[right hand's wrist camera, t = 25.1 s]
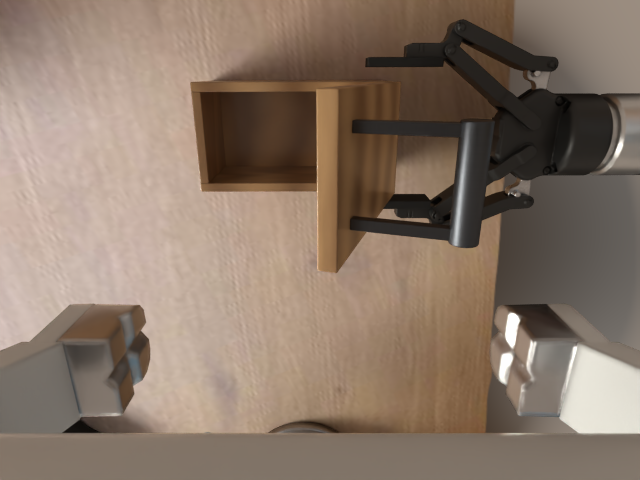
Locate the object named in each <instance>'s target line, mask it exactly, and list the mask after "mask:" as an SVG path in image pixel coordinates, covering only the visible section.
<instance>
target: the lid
mask: <svg viewBox="0 0 640 480" xmlns="http://www.w3.org/2000/svg"><path fill="white" fill-rule="evenodd" d="M400 91H401V82H378V83H367V84H357V85H346V86H335V87H325V88H317V89H316V108H317V268H318V271H325V272H332V273H337V272H338V271H339V269H340V268H341V267H342V265H343V264H344V262H345V261H346V260H347V258H348V257H349V255H350V254H351V253H352V251H353V250H354V249H355V247H356V246H357V244H358V243H359V242H360V240H361V239H362V237H363V236H364V235H365V233H366V232H373V233H382V234H391V235H401V236H410V237H419V238H428V239H438V240H447V241H448V242H449V243H450V244H451V245H453V246H456V247H461V248H473V247H476V246H478V244H479V237H480V230H481V222H482V215H483V207H484V200H485V192H486V185H487V177H488V170H489V162H490V155H491V147H492V140H493V132H494V125H495V121H494V120H490V119H462V120H461V122H439V121H404V120H399V108H400ZM398 135H408V136H434V137H459V142H458V152H457V161H456V171H455V180H454V189H453V199H452V208H451V218H450V225H441V224H431V223H421V222H411V221H400V220H390V219H380V218H377V217H378V215H379V214H380V212H381V211H382V210H383V208H384V207H385V206H386V204H387V203H388V201H389V200H390V199H391V197H392V196H393V194H394V193H395V177H396V160H397V142H398Z"/></svg>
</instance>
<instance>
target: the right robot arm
mask: <svg viewBox="0 0 640 480" xmlns="http://www.w3.org/2000/svg"><path fill="white" fill-rule="evenodd" d="M145 323H146V319H145V314H144V310H143V308H142V307H141V306H140V305H114V304H73V305H69V306H68V307H67V308H66V309H65V310H64V311H63V312H62V313H60V314H59V315H58V316H57V317H56V318H55V319H54V320H53V321H52V322H51V323H50V324H48V325H47V326H46V327H45V328H44V329H43V330H42V331H41V332H40V333H39V334H37V335H36V336H35V337H34V338H33V339H32V340H31V341H30V342H21V343H18V344H16V345H13V346H11V347H8V348H6V349H4V350H1V351H0V480H640V351H639V350H636V349H634V348H631V347H629V346H627V345H624V344H622V343H619V342H610V341H609V340H608V339H607V338H606V337H605V336H604V335H603V334H601V333H600V332H599V331H598V330H597V329H596V328H595V327H594V326H593V325H592V324H591V323H589V322H588V321H587V320H586V319H585V318H584V317H583V316H582V315H581V314H580V313H579V312H577V311H576V310H575V309H574V308H573V307H572V306H571V305H568V304H530V305H502V306H499V307H498V308H497V311H496V313H495V319H494V323H495V325H496V326H497V328H498V329H499V332H498V333H497V334H496V335H495V336H494V337H493V338H492V339H491V345H490V362H491V366H492V370H493V373H494V374H495V376H496V378H497V380H498V381H500V382H501V383H503V384H505V385H506V386H507V389H506V395H507V397H508V399H509V401H510V402H511V404H512V406H513V407H514V409H515V411H516V412H517V414H518V416H542V417H560V420H562V421H563V422H564V423H566V424H567V425H569V426H570V427H571V428H572V429H574V430H575V431H576V432H578V433H62V432H64V431H65V430H66V429H68V428H69V427H70V426H72V425H73V424H74V423H76V422H77V421H78V420H80V417H98V416H122V414H123V412H124V411H125V409H126V407H127V406H128V404H129V402H130V401H131V399H132V397H133V395H134V389H133V386H134V385H135V384H137V383H139V382H140V381H142V380H143V378H144V376H145V374H146V372H147V370H148V366H149V361H150V344H149V339H148V338H147V337H146V336H145V335H144V334H143V333H142V332H141V329H142V328H143V326H144V325H145Z"/></svg>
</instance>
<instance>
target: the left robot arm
mask: <svg viewBox="0 0 640 480" xmlns="http://www.w3.org/2000/svg"><path fill="white" fill-rule="evenodd" d="M461 42H462V43H464V44H466V45H468V46H470V47H472V48H474V49H476V50H478V51H480V52H482V53H484V54H486V55H488V56H490V57H492V58H494V59H496V60H498V61H500V62H502V63H504V64H506V65H507V66H509V67H512V68H514V69H517V70H522V71H523V77H524V79H526V80H528V81H530V82H531V85H532V88H531V89H529V90H527V91H526V92H525V93H523V94H522V95H520V96H519V97H516V96H515V95H514V94H512V93H511V92H509V91H508V90H506V89H505V88H504V87H503V86H502V85H501V84H500V83H499V82H498V81H496V80H495V79H494V78H493V77H492V76H491V75H490V74H489V73H488V72H487V71H486V70H484V69H483V68H482V67H481V66H480V65H479V64H478V63H477V62H476V61H475V60H474V59H472V58H471V57H470V56H469V55H468V54H467V53H466V52H465V51H464V50H463V49H462V48H460V44H461ZM444 61H445V62H446V63H447V64H448V65H449V66H451V67H452V68H453V69H454V70H455V71H456V72H457V73H458V74H459V75H461V76H462V77H463V78H464V79H465V80H466V81H467V82H468V83H469V84H471V85H472V86H473V87H474V88H475V89H476V90H477V91H478V92H479V93H481V94H482V95H483V96H484V97H485V98H486V99H487V100H488V102H489V103H490V104H491V105H492V106H494V107H495V108H496V109H497V110H498V112H497V113H496V115H495V117H494V118H492V120H494V121H495V125H494V132H493V140H492V147H491V156H490V162H489V170H488V177H487V185H489V184H490V183H492V182H493V181H496V180H499V179H501V178H503V177H504V176H506V175H507V174H509V173H511V174H513V175H514V176H515V177H517V180H516V182H515V183H514V184H512V185H509V186H507V187H506V189H505V191H501V192H497V193H494V194H491V195H489V196H487V197H485V200H484V207H483V215H482V220H484V219H487V218H489V217H492V216H494V215H497V214H499V213H502V212H504V211H507V210H509V209H521V208H529V207H531V206H532V205H533V203H534V199H533V198H532V197H531V196H529V194H530V184H531V180H532V179H534V178H536V177H538V176H542V175H586V174H591V175H640V94H601V95H598V94H554V93H551V92H549V91H548V90H547V85H548V81H549V77H550V73H551V72H552V71H554V70H555V69H556V68H557V67H558V60H557V58H555V57H547V56H534V55H532V54H530V53H528V52H526V51H524V50H523V49H521V48H519V47H517V46H515V45H513V44H511V43H509V42H507V41H505V40H503V39H501V38H499V37H497V36H495V35H493V34H492V33H490V32H488V31H486V30H484V29H482V28H480V27H478V26H476V25H474V24H472V23H470V22H468V21H466V20H463V19H462V20H459V21H456V22H453V23H451V24H450V25H449V26H448V29H447V34H446V36H445V38H444V40H443V41H442V42H441V43H412V44H409V45H407V46H404V57H368V58H366V67H443V63H444ZM487 185H486V186H487ZM453 189H454V184H453V185H451V186H450V187H449V188H447V189H446V190H444V191H443V192H441V193H440V194H439V195H437V196H436V197H434V198H433V199H431V200H429V198H428V197H427V196H426V195H425V194H393V196H392V197H391V199H390V200H389V201H388V203H387V204H386V206H385V207H384V208H383V209H394V212H395V214H396V216H398V217H400V218H427V219H429V222H430V223H431V224H441V225H450V218H451V208H452V199H453ZM449 211H450V212H449ZM207 433H209V432H207ZM269 433H339V432H337V431H336V430H334V429H332V428H330V427H327V426H324V425H321V424H316V423H309V422H298V423H291V424H286V425H283V426H280V427H278V428H276V429H274V430H272V431H270V432H269Z"/></svg>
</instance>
